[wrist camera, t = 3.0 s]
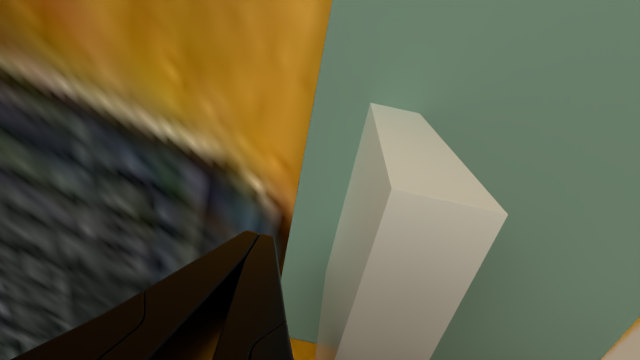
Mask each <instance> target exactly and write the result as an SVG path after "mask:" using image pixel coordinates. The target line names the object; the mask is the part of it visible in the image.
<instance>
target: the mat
mask: <svg viewBox="0 0 640 360" xmlns="http://www.w3.org/2000/svg"><path fill="white" fill-rule="evenodd" d="M370 103H374V104H379V105H383V106H388V107H392V108H397V109H401V110H406V111H411V112H415V113H420V114H421V116H422V117H423V118H424V119H425V120H426V121H427V122H428V124H429V125H430V126H431V127H432V128H433V129H434V130H435V132H436V133H437V134H438V135H439V136H440V137H441V138H442V140H443V141H444V142H445V143H446V144H447V145H448V146H449V148H450V149H451V150H452V151H453V152H454V153H455V154H456V156H457V157H458V158H459V159H460V160H461V161H462V162H463V164H464V165H465V166H466V167H467V168H468V169H469V170H470V172H471V173H472V174H473V175H474V176H475V177H476V178H477V180H478V181H479V182H480V183H481V184H482V185H483V186H484V188H485V189H486V190H487V191H488V192H489V193H490V194H491V196H492V197H493V198H494V199H495V200H496V201H497V202H498V204H499V205H500V206H501V207H502V208H503V209H504V210H505V212H506V213H507V214H508V216H507V218H506V220H505V221H504V223H503V225H502V227H501V229H500V231H499V233H498V234H497V236H496V238H495V240H494V242H493V244H492V245H491V247H490V249H489V251H488V253H487V255H486V256H485V258H484V260H483V262H482V264H481V266H480V268H479V269H478V271H477V273H476V275H475V277H474V279H473V280H472V282H471V284H470V286H469V288H468V290H467V291H466V293H465V295H464V297H463V299H462V301H461V302H460V304H459V306H458V308H457V310H456V312H455V314H454V315H453V317H452V319H451V321H450V323H449V325H448V326H447V328H446V330H445V332H444V334H443V336H442V337H441V339H440V341H439V343H438V345H437V347H436V349H435V350H434V352H433V354H432V356H431V358H430V360H600V359H601V358H602V357H603V356H604V355H605V354H606V353H607V351H608V350H609V349H610V348H611V347H612V346H613V345H614V344H615V343H616V342H617V341H618V340H619V338H620V337H621V336H622V335H623V334H624V333H625V332H626V331H627V330H628V329H629V328H630V326H631V325H632V324H633V323H634V322H635V321H636V320H637V319H638V318H639V317H640V0H333V1H332V6H331V12H330V17H329V23H328V28H327V33H326V39H325V44H324V50H323V55H322V61H321V66H320V71H319V77H318V82H317V88H316V93H315V99H314V104H313V109H312V115H311V120H310V126H309V131H308V137H307V142H306V147H305V153H304V158H303V164H302V169H301V175H300V180H299V185H298V191H297V196H296V202H295V207H294V213H293V218H292V223H291V229H290V234H289V240H288V245H287V251H286V256H285V261H284V267H283V272H282V278H281V285H282V292H283V298H284V305H285V312H286V319H287V325H288V331H289V337H290V338H294V339H298V340H303V341H307V342H312V343H316V344H317V338H318V330H319V322H320V314H321V306H322V298H323V290H324V282H325V274H326V269H327V265H328V261H329V258H330V254H331V250H332V246H333V243H334V239H335V235H336V231H337V227H338V224H339V220H340V216H341V212H342V208H343V205H344V201H345V197H346V193H347V189H348V186H349V182H350V178H351V174H352V171H353V167H354V163H355V159H356V155H357V152H358V148H359V144H360V140H361V136H362V133H363V129H364V125H365V121H366V117H367V114H368V110H369V106H370Z"/></svg>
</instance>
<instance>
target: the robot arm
mask: <svg viewBox="0 0 640 360" xmlns="http://www.w3.org/2000/svg"><path fill="white" fill-rule="evenodd" d="M11 360H294V358H293V354H292V349H291V343H290V338H289V331H288V325H287V319H286V312H285V305H284V298H283V292H282V285H281V278H280V271H279V264H278V258H277V251H276V244H275V238H274V236H271V235H266V234H259V233H257V232H253V231H248V230H247V231H244V232H242V233H241V234H239V235H237V236H236V237H234V238H232V239H230V240H229V241H227V242H225V243H224V244H222V245H220V246H219V247H217V248H215V249H213V250H212V251H210V252H208V253H207V254H205V255H203V256H202V257H200V258H198V259H196V260H195V261H193V262H191V263H190V264H188V265H186V266H185V267H183V268H181V269H180V270H178V271H176V272H174V273H173V274H171V275H169V276H168V277H166V278H164V279H163V280H161V281H159V282H157V283H156V284H154V285H152V286H151V287H149V288H147V289H146V290H145V291H144V292H140V293H139V294H137V295H135V296H133V297H132V298H130V299H128V300H127V301H125V302H123V303H121V304H119V305H118V306H116V307H114V308H112V309H111V310H109V311H107V312H105V313H103V314H101V315H100V316H98V317H96V318H94V319H92V320H90V321H88V322H86V323H84V324H82V325H80V326H78V327H76V328H74V329H72V330H70V331H68V332H66V333H64V334H62V335H60V336H58V337H56V338H54V339H52V340H50V341H48V342H46V343H43V344H41V345H39V346H37V347H35V348H33V349H31V350H29V351H27V352H25V353H23V354H21V355H19V356H17V357H15V358H13V359H11Z"/></svg>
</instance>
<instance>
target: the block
mask: <svg viewBox="0 0 640 360" xmlns="http://www.w3.org/2000/svg"><path fill="white" fill-rule="evenodd" d="M507 216H508V214H507V213H506V212H505V210H504V209H503V208H502V207H501V206H500V205H499V204H498V202H497V201H496V200H495V199H494V198H493V197H492V196H491V194H490V193H489V192H488V191H487V190H486V189H485V188H484V186H483V185H482V184H481V183H480V182H479V181H478V180H477V178H476V177H475V176H474V175H473V174H472V173H471V172H470V170H469V169H468V168H467V167H466V166H465V165H464V164H463V162H462V161H461V160H460V159H459V158H458V157H457V156H456V154H455V153H454V152H453V151H452V150H451V149H450V148H449V146H448V145H447V144H446V143H445V142H444V141H443V140H442V138H441V137H440V136H439V135H438V134H437V133H436V132H435V130H434V129H433V128H432V127H431V126H430V125H429V124H428V122H427V121H426V120H425V119H424V118H423V117H422V116H421V114H420V113H415V112H411V111H406V110H401V109H397V108H392V107H388V106H383V105H379V104H374V103H370V106H369V110H368V114H367V117H366V121H365V125H364V129H363V133H362V136H361V140H360V144H359V148H358V152H357V155H356V159H355V163H354V167H353V171H352V174H351V178H350V182H349V186H348V189H347V193H346V197H345V201H344V205H343V208H342V212H341V216H340V220H339V224H338V227H337V231H336V235H335V239H334V243H333V246H332V250H331V254H330V258H329V261H328V265H327V269H326V274H325V282H324V290H323V298H322V306H321V314H320V322H319V330H318V338H317V347H316V355H315V360H430V358H431V356H432V354H433V352H434V350H435V349H436V347H437V345H438V343H439V341H440V339H441V337H442V336H443V334H444V332H445V330H446V328H447V326H448V325H449V323H450V321H451V319H452V317H453V315H454V314H455V312H456V310H457V308H458V306H459V304H460V302H461V301H462V299H463V297H464V295H465V293H466V291H467V290H468V288H469V286H470V284H471V282H472V280H473V279H474V277H475V275H476V273H477V271H478V269H479V268H480V266H481V264H482V262H483V260H484V258H485V256H486V255H487V253H488V251H489V249H490V247H491V245H492V244H493V242H494V240H495V238H496V236H497V234H498V233H499V231H500V229H501V227H502V225H503V223H504V221H505V220H506V218H507Z"/></svg>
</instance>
